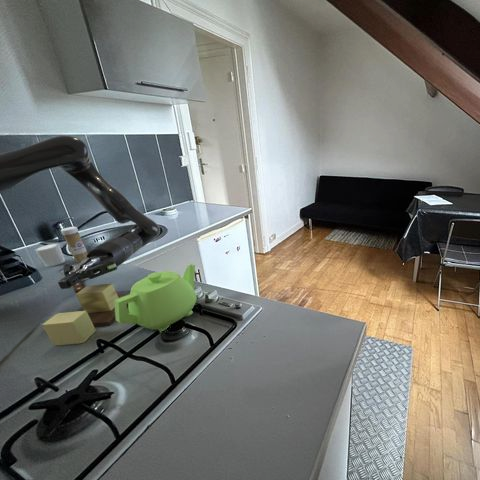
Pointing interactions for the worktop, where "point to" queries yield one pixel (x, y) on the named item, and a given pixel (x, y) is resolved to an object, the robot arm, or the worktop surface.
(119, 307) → the teapot
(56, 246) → the white squat cylinder
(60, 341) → the block
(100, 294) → the butter board
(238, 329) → the worktop surface
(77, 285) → the kitchen cleaver
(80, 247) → the sprinkles bottle
